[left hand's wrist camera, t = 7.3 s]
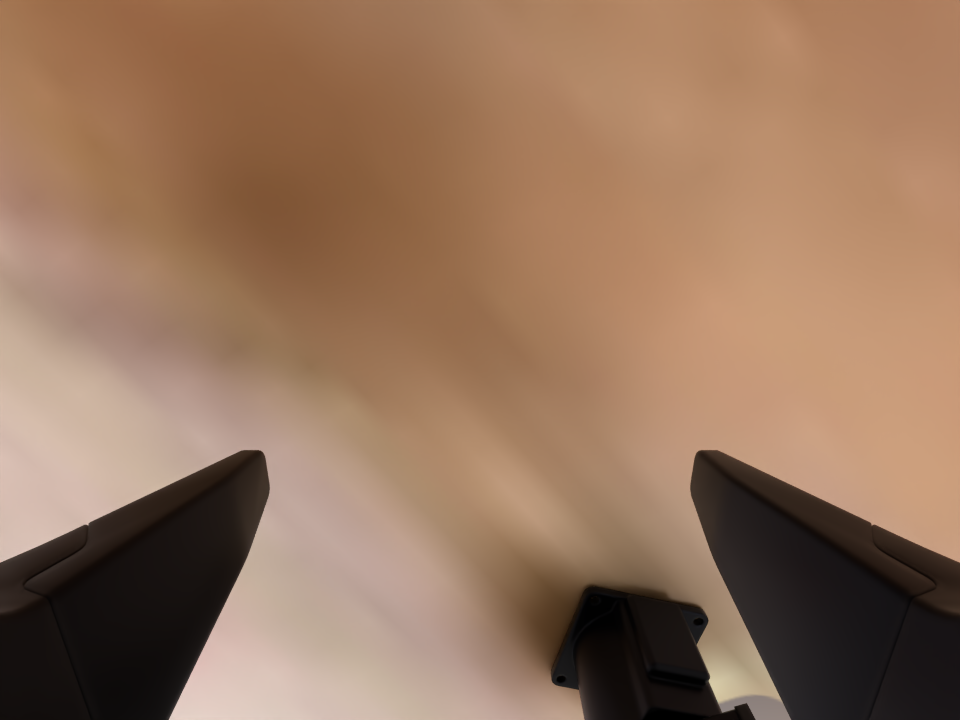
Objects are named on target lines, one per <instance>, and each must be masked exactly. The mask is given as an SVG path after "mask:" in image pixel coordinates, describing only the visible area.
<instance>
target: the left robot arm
mask: <svg viewBox="0 0 960 720" xmlns="http://www.w3.org/2000/svg"><path fill="white" fill-rule="evenodd" d="M269 490H270V485H269V478H268V472H267V465H266V459H265V455H264V453H263V452H262V451H259V450H243V451H240V452H238V453H236V454H233V455H231V456H229V457H227V458H225V459H223V460H221V461H219V462H217V463H214V464H212V465H210V466H208V467H206V468H204V469H202V470H200V471H198V472H195V473H193V474H191V475H189V476H187V477H185V478H183V479H181V480H179V481H176V482H174V483H172V484H170V485H168V486H166V487H164V488H162V489H160V490H157V491H155V492H153V493H151V494H149V495H147V496H145V497H143V498H141V499H138V500H136V501H134V502H132V503H130V504H128V505H126V506H124V507H122V508H119V509H117V510H115V511H113V512H111V513H109V514H107V515H105V516H103V517H100V518H98V519H96V520H94V521H92V522H90V523H89V525H83V526H81V527H79V528H77V529H75V530H73V531H71V532H69V533H66V534H64V535H62V536H60V537H58V538H56V539H53V540H51V541H49V542H47V543H45V544H42V545H40V546H38V547H36V548H33V549H31V550H29V551H26V552H24V553H22V554H19V555H17V556H15V557H12V558H10V559H8V560H6V561H3V562H1V563H0V720H169V718H170V716H171V714H172V712H173V710H174V708H175V706H176V704H177V701H178V699H179V697H180V695H181V693H182V691H183V689H184V687H185V685H186V683H187V681H188V679H189V677H190V675H191V673H192V671H193V668H194V666H195V664H196V662H197V660H198V658H199V656H200V654H201V652H202V650H203V648H204V646H205V644H206V642H207V640H208V638H209V636H210V633H211V631H212V629H213V627H214V625H215V623H216V621H217V619H218V617H219V615H220V613H221V611H222V609H223V607H224V605H225V603H226V600H227V598H228V596H229V594H230V592H231V590H232V588H233V586H234V584H235V582H236V580H237V578H238V576H239V574H240V572H241V570H242V567H243V565H244V563H245V561H246V559H247V556H248V553H249V551H250V548H251V545H252V543H253V540H254V537H255V534H256V531H257V528H258V525H259V522H260V519H261V517H262V514H263V511H264V508H265V505H266V502H267V499H268V496H269ZM690 490H691V496H692V499H693V502H694V505H695V508H696V511H697V514H698V517H699V519H700V522H701V525H702V528H703V531H704V534H705V537H706V540H707V543H708V545H709V548H710V551H711V554H712V556H713V559H714V561H715V563H716V565H717V567H718V570H719V572H720V574H721V576H722V578H723V580H724V582H725V584H726V586H727V588H728V590H729V592H730V594H731V596H732V598H733V600H734V603H735V605H736V607H737V609H738V611H739V613H740V615H741V617H742V619H743V621H744V623H745V625H746V627H747V629H748V631H749V633H750V636H751V638H752V640H753V642H754V644H755V646H756V648H757V650H758V652H759V654H760V656H761V658H762V660H763V662H764V664H765V666H766V668H767V671H768V673H769V675H770V677H771V679H772V681H773V683H774V685H775V687H776V689H777V691H778V693H779V695H780V697H781V699H782V701H783V704H784V706H785V708H786V710H787V712H788V714H789V716H790V718H791V720H960V563H959V562H957V561H954V560H952V559H950V558H947V557H945V556H943V555H941V554H938V553H936V552H934V551H931V550H929V549H927V548H924V547H922V546H920V545H918V544H915V543H913V542H911V541H909V540H907V539H904V538H902V537H900V536H898V535H896V534H894V533H891V532H889V531H887V530H885V529H883V528H881V527H879V526H877V525H871V523H870V522H868V521H866V520H864V519H862V518H860V517H857V516H855V515H853V514H851V513H849V512H847V511H845V510H843V509H841V508H838V507H836V506H834V505H832V504H830V503H828V502H826V501H824V500H822V499H819V498H817V497H815V496H813V495H811V494H809V493H807V492H805V491H803V490H800V489H798V488H796V487H794V486H792V485H790V484H788V483H786V482H784V481H781V480H779V479H777V478H775V477H773V476H771V475H769V474H767V473H765V472H762V471H760V470H758V469H756V468H754V467H752V466H750V465H748V464H746V463H743V462H741V461H739V460H737V459H735V458H733V457H731V456H729V455H727V454H724V453H722V452H720V451H717V450H700V451H698V452H697V453H696V455H695V459H694V465H693V472H692V478H691V485H690ZM591 597H596V598H591ZM696 618H698V619H696ZM707 624H708V618H707V616H706V614H705V612H704V611H703V609H700V608H696V607H691V606H687V605H682V604H677V603H672V602H667V601H662V600H658V599H653V598H648V597H643V596H638V595H633V594H629V593H624V592H619V591H614V590H609V589H604V588H600V587H589V588H587V589H586V590H585V591H584V592H583V595H582V597H581V600H580V602H579V605H578V607H577V609H576V612H575V614H574V617H573V619H572V622H571V624H570V626H569V629H568V631H567V634H566V636H565V639H564V641H563V643H562V646H561V648H560V651H559V653H558V655H557V658H556V660H555V663H554V665H553V668H552V670H551V678H552V682H553V683H554V684H555V685H558V686H562V687H567V688H573V689H578V690H579V692H580V697H581V703H582V708H583V714H584V719H585V720H755V718H754V716H753V714H752V712H751V710H750V708H749V706H748V705H747V703H746V704H742V705H739V706H735V707H734V708H735V709H734V710H730V711H727V712H723V713H722V711H721V709H720V707H719V704H718V702H717V700H716V697H715V695H714V693H713V690H712V688H711V686H710V684H709V679H710V675H709V673H708V670H707V668H706V666H705V663H704V661H703V659H702V657H701V654H700V652H699V650H698V647H697V643H698V641H699V639H700V637H701V635H702V633H703V631H704V629H705V628H706V626H707Z"/></svg>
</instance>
